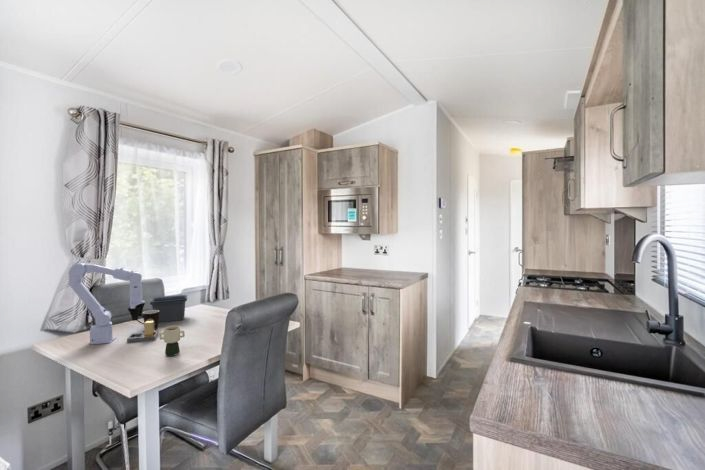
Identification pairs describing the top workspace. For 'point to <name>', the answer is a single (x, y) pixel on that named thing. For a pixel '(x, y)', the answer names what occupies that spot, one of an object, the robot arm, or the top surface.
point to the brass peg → (149, 328)
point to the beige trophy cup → (171, 339)
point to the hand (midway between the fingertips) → (137, 318)
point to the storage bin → (169, 307)
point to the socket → (141, 337)
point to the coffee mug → (151, 317)
